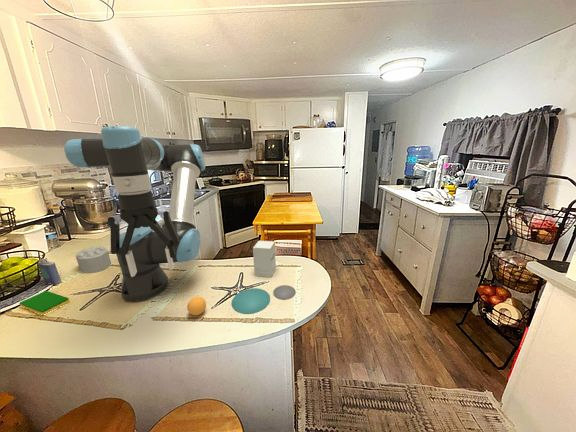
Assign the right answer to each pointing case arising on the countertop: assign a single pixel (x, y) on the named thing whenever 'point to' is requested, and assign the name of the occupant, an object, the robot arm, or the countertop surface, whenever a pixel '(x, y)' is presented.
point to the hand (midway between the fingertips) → (153, 270)
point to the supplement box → (264, 258)
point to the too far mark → (284, 292)
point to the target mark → (250, 301)
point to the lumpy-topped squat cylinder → (93, 259)
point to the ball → (196, 305)
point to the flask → (49, 271)
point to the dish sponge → (44, 302)
